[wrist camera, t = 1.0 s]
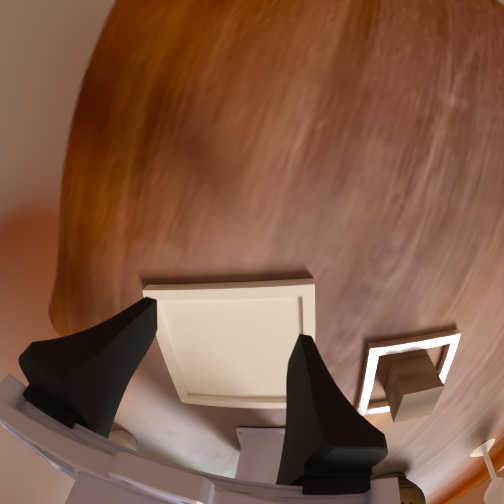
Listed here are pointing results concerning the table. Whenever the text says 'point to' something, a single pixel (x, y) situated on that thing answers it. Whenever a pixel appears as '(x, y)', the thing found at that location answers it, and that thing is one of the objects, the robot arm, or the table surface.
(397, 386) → the walnut block
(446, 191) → the table surface
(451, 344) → the frame
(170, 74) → the table surface
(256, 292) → the tray
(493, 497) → the champagne flute
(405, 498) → the ceramic jug
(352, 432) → the robot arm
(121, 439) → the salt shaker
